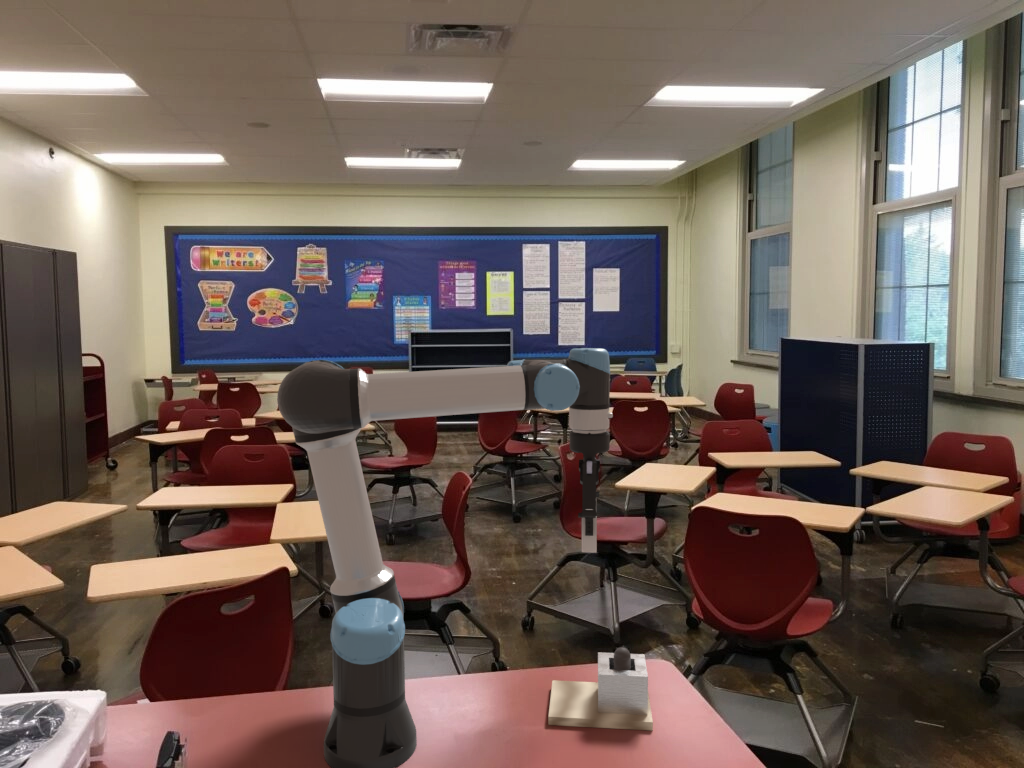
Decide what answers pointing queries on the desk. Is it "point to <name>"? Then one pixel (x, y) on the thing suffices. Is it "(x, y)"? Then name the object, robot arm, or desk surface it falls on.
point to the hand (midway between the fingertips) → (589, 540)
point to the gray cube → (622, 686)
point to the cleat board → (592, 703)
